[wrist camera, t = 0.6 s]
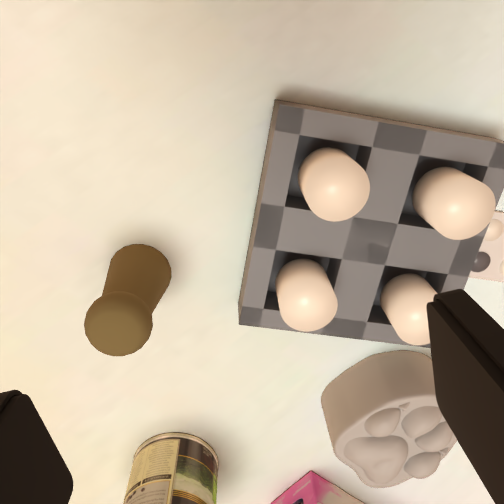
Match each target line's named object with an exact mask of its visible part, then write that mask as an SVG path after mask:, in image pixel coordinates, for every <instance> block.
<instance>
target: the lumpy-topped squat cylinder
mask: <svg viewBox="0 0 504 504" xmlns="http://www.w3.org/2000/svg"><path fill="white" fill-rule="evenodd" d="M321 404H322V408H323V412H324V416H325V420H326V424H327V428H328V432H329V435H330V439H331V442H332V446H333V450H334V453H335V455H336V457H337V458H338V459H339V460H340V461H342V462H343V463H345V464H346V465H348V466H349V467H351V468H352V469H353V470H354V471H355V472H356V474H357V475H358V477H359V478H360V480H361V481H362V482H363V483H364V484H366V485H368V486H370V487H374V488H385V487H391V486H395V485H398V484H400V483H402V482H404V481H406V480H408V479H410V478H412V477H414V478H418V479H422V478H426V477H428V476H430V475H432V474H433V473H434V472H435V471H436V469H437V467H438V466H439V463H440V460H442V459H443V458H444V457H445V456H446V455H447V453H448V452H449V451H450V450H451V448H452V447H453V445H454V444H455V443H456V441H457V439H456V437H455V435H454V434H453V432H452V430H451V429H450V427H449V425H448V424H447V422H446V420H445V419H444V417H443V415H442V413H441V412H440V409H439V407H438V404H437V400H436V394H435V385H434V375H433V366H432V360H431V359H430V358H429V357H428V356H426V355H424V354H422V353H419V352H414V351H408V350H397V351H389V352H383V353H378V354H374V355H371V356H369V357H367V358H365V359H363V360H361V361H360V362H358V363H356V364H355V365H353V366H352V367H350V368H349V369H347V370H346V371H344V372H343V373H342V374H340V375H339V376H338V377H337V378H335V379H334V380H333V381H332V382H330V383H329V384H328V385H327V387H326V388H325V389H324V391H323V393H322V396H321Z"/></svg>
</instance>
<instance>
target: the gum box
mask: <svg viewBox="0 0 504 504" xmlns="http://www.w3.org/2000/svg"><path fill="white" fill-rule="evenodd" d="M271 504H364V503H363V502H361V501H359V500H358V499H356V498H354V497H352V496H351V495H349V494H347V493H346V492H344V491H343V490H342V489H340V488H339V487H337V486H335V485H334V484H332V483H330V482H328V481H326V480H325V479H323V478H321V477H320V476H318V475H317V474H315V473H314V472H312V471H310V472H309V473H308V474H306V475H305V476H304V477H303V478H302V479H300V480H299V481H298V482H296V483H295V484H294V485H292V486H291V487H290V488H289V489H288V490H286V491H285V492H284V493H283V494H282V495H281V496H280V497H278V498H277V499H276V500H275V501H274V502H272V503H271Z"/></svg>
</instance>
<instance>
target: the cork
mask: <svg viewBox="0 0 504 504" xmlns="http://www.w3.org/2000/svg"><path fill="white" fill-rule="evenodd" d="M170 280H171V267H170V265H169V262H168V260H167V259H166V258H165V256H164V255H163V254H162V253H161V252H160V251H158V250H156V249H155V248H153V247H150V246H147V245H144V244H132V245H129V246H126V247H123V248H122V249H120V250H119V251H117V252H116V253H115V255H114V256H113V258H112V259H111V262H110V266H109V270H108V274H107V278H106V282H105V286H104V290H103V294H102V296H101V297H100V298H98V299H97V300H96V301H94V303H93V304H92V305H91V307H90V308H89V310H88V311H87V314H86V318H85V323H84V327H85V334H86V336H87V337H88V339H89V341H90V343H91V344H92V345H93V346H94V347H95V348H96V349H97V350H99V351H100V352H102V353H104V354H107V355H111V356H125V355H128V354H132V353H134V352H136V351H137V350H139V349H141V348H142V346H143V345H144V344H145V343H146V341H147V340H148V339H149V337H150V334H151V330H152V327H153V323H152V313H153V311H154V309H155V308H156V306H157V304H158V302H159V301H160V299H161V297H162V296H163V294H164V292H165V291H166V289H167V287H168V286H169V283H170Z"/></svg>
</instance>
